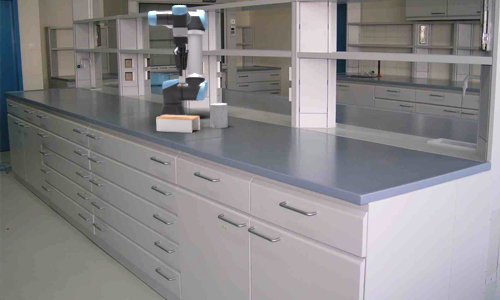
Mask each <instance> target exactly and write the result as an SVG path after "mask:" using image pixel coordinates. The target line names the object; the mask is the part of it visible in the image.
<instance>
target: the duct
mask: <svg viewBox="0 0 500 300" xmlns="http://www.w3.org/2000/svg"><path fill="white" fill-rule="evenodd" d="M155 121H156V124H155V125H156V132H165V133H166V132H167V133H168V132H169V133H182V134H183V133H185V134H187V133H188V134H192V133H193V131H201V120H200V118H197V119H193V120H175V119H156V118H155Z"/></svg>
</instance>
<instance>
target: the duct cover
mask: <svg viewBox="0 0 500 300" xmlns="http://www.w3.org/2000/svg"><path fill="white" fill-rule="evenodd" d="M200 117H201V116H200V115H187V114H186V115H162V116H161V115H160V116H156V117H155V120H156V119H175V120H193V119H197V118H200Z"/></svg>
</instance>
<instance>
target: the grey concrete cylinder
mask: <svg viewBox="0 0 500 300" xmlns="http://www.w3.org/2000/svg"><path fill="white" fill-rule="evenodd" d="M209 120H210V121H209V126H210V127H209V128H211V127H212V129H224V128H228V127H229V126H228V125H229V124H228V122H229V121H228V103H226V102H215V103H214V102H213V103H212V102H211V103H209Z"/></svg>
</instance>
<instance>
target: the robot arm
mask: <svg viewBox="0 0 500 300" xmlns="http://www.w3.org/2000/svg"><path fill="white" fill-rule="evenodd" d="M147 23H148V25H149V26H155V27H159V26H161V27H162V26H164V27H165V28H168V29H172V35H173V37H172V42H173V44H174V45H175V49H174V50H172V53H173V56H174V61H175V69H176V70H177V71H178V78H174V79H167V80H164V81H163V82H162V84H161V85H162V86H161V88H162V89H161V90H162V91H161V92H162V110H161V113H160V116H162V115H187V112H186V111H185V108H184V104H183V101H184V102H185V101H186V102H187V101H188V102H189V101H191V102H193V101H196V102H200V101H205V100H206V98H207V94H208V87H209V86H208V84H209V83H208V81H207V80H206V77H204V75H203V36H204V35H205V33H206V31H208V28H209V27H208V26H209V25H208V17H207V14H206V11H205V10H203V9H188V8H187V5H184V4H183V5H181V4H180V5H179V4H178V5H173V6H172V7H171V10H152V11H151V10H150V11H148V13H147ZM185 71H187V76H186V74H185V73H186V72H185Z"/></svg>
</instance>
